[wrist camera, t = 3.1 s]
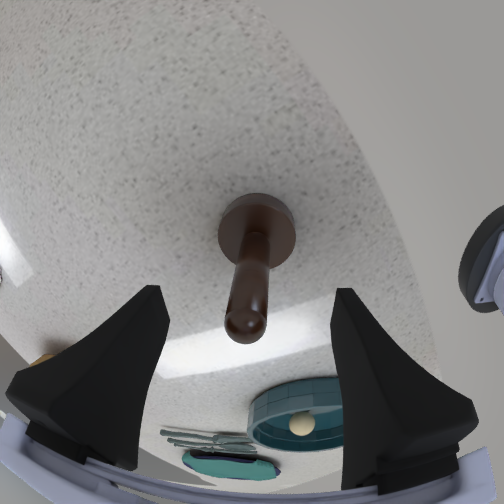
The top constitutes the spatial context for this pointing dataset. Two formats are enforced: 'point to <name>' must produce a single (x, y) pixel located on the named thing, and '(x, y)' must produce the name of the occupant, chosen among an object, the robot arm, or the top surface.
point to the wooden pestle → (253, 259)
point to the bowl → (291, 402)
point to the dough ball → (302, 423)
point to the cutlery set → (224, 458)
